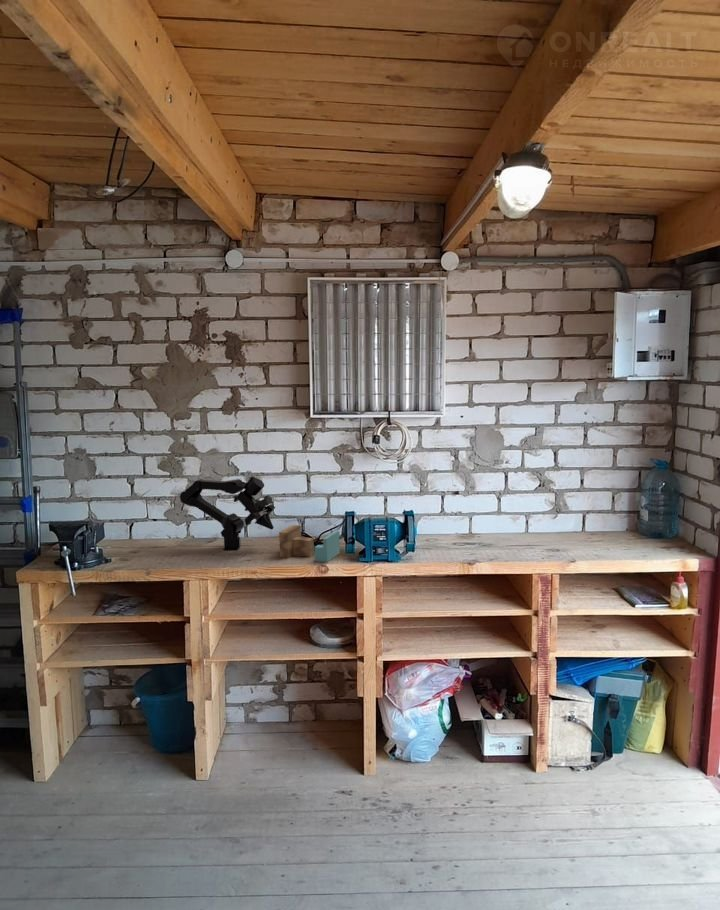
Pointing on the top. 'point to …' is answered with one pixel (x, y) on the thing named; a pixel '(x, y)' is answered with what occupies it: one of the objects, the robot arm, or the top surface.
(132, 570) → the top surface
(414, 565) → the top surface
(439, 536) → the top surface
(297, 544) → the walnut t block
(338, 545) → the teal block
